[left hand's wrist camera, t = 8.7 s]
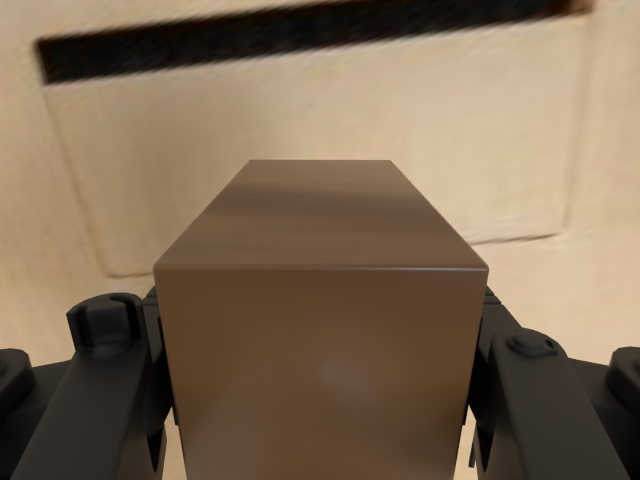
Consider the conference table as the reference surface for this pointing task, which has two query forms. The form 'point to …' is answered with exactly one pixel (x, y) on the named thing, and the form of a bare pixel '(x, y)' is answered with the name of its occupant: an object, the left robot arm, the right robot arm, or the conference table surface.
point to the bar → (320, 327)
